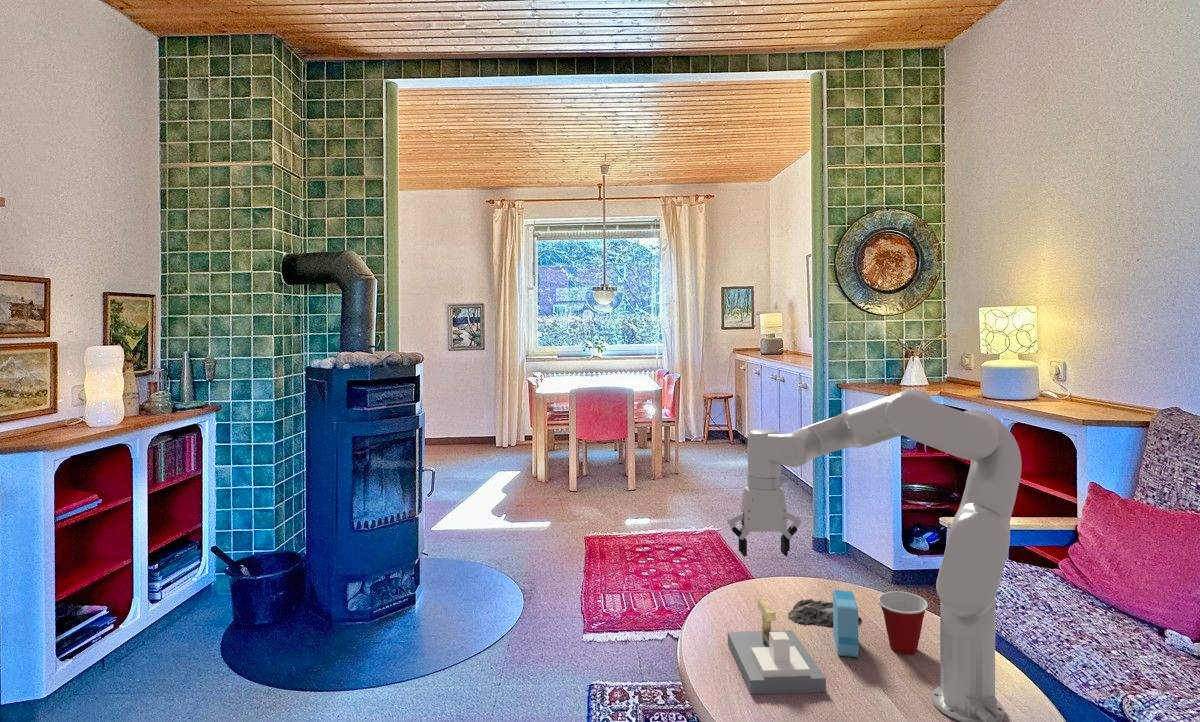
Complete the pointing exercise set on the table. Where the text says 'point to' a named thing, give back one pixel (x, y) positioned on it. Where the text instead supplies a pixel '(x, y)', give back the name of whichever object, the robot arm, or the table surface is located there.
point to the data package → (845, 623)
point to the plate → (773, 685)
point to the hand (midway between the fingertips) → (764, 554)
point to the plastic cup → (903, 619)
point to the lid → (779, 658)
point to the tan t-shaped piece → (766, 618)
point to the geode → (813, 613)
